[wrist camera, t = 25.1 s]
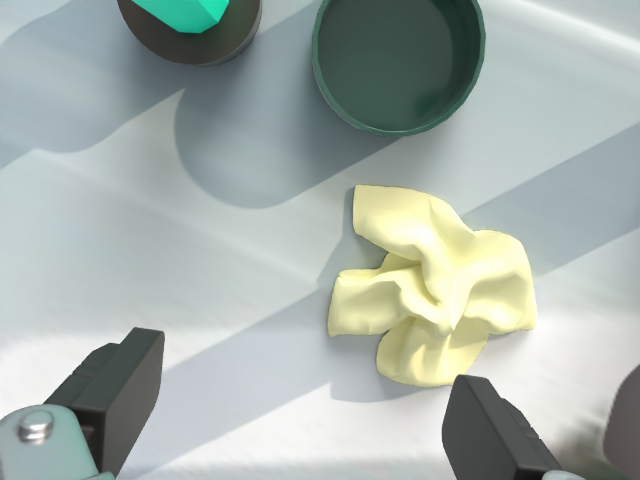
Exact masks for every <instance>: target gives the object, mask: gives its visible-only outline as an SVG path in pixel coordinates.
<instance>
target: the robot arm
mask: <svg viewBox="0 0 640 480" xmlns="http://www.w3.org/2000/svg"><path fill="white" fill-rule="evenodd" d="M164 341H165V335H164V332H163V331H158V330H151V329H144V328H137V327H135V328H133V329H132V330H131V332H130V333H129V334H128V335H127V336H126V338H125V339H124V340H123V341H122V342H121V343H120V344H115V343H108V344H106V345H104V346H102V347H100V348H98V349H96V350H94V351H92V352H91V353H90V354H89V355H88V356H87V357H86V358H85V360H84V361H83V362H82V363H81V365H79V366H78V367H77V368H76V369H75V370H74V371H73V373H72V375H69V377H68V378H67V379H66V380H65V381H64V382H63V383H62V384H61V385H60V386H59V387H58V388H57V389H56V390H55V391H54V392H53V394H52V395H51V396H50V397H49V398H48V399H47V400H46V401H45V402H44V403H43V404H42V405H34V406H29V407H25V408H22V409H19V410H16V411H14V412H12V413H10V414H8V415H7V416H5V417H4V418H2V419H1V420H0V480H115V479H116V477H117V475H118V473H119V472H120V470H121V468H122V466H123V464H124V462H125V461H126V459H127V457H128V455H129V453H130V451H131V449H132V448H133V446H134V444H135V442H136V440H137V438H138V436H139V435H140V433H141V431H142V429H143V427H144V425H145V423H146V422H147V420H148V418H149V416H150V414H151V412H152V411H153V409H154V406H155V404H156V401H157V398H158V394H159V389H160V383H161V373H162V362H163V352H164ZM442 443H443V447H444V449H445V452H446V454H447V457H448V459H449V462H450V464H451V466H452V469H453V471H454V474H455V476H456V478H457V480H586V479H584V478H582V477H580V476H577V475H575V474H572V473H569V472H565V471H564V470H563V469H562V467H561V466H560V465H559V463H558V462H557V460H556V459H555V458H554V456H553V455H552V454H551V452H550V451H549V449H548V448H547V447H546V445H545V444H544V443H543V441H542V440H541V439H539V436H538V434H537V433H536V432H535V430H534V429H533V428H532V427H530V423H529V422H528V421H527V419H526V418H525V417H524V415H523V414H522V413H521V411H520V410H518V409H517V408H516V407H515V406H513V405H512V404H511V403H510V402H508V401H507V400H506V399H503V398H501V397H500V396H499V394H498V393H497V391H496V390H495V389H494V387H493V386H492V384H491V383H490V381H489V380H488V379H487V378H483V377H476V376H469V375H462V374H459V375H457V376H456V378H455V380H454V383H453V387H452V390H451V394H450V398H449V402H448V405H447V409H446V413H445V416H444V420H443V424H442Z"/></svg>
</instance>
